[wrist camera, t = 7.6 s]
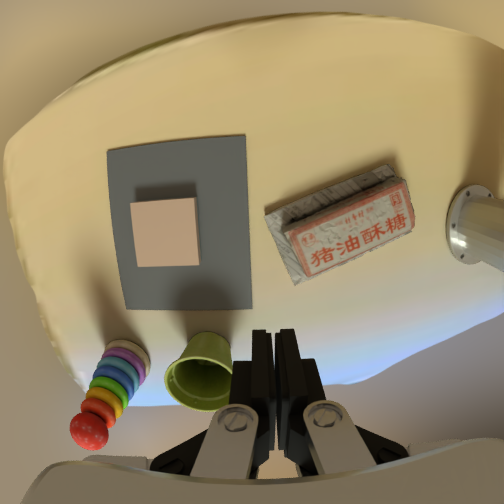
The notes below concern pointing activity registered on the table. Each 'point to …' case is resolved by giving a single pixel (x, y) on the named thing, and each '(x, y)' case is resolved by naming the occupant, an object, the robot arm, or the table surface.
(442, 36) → the table surface
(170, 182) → the mat
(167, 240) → the tile
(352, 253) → the packaged product
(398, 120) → the table surface
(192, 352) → the plant pot
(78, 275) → the table surface
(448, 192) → the table surface
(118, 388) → the stacking toy
